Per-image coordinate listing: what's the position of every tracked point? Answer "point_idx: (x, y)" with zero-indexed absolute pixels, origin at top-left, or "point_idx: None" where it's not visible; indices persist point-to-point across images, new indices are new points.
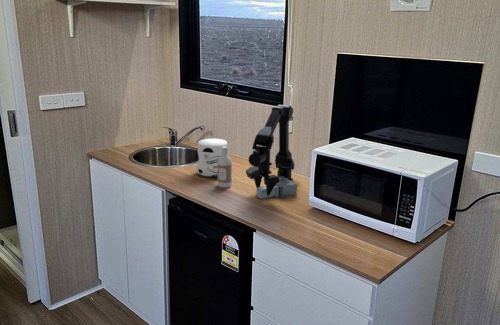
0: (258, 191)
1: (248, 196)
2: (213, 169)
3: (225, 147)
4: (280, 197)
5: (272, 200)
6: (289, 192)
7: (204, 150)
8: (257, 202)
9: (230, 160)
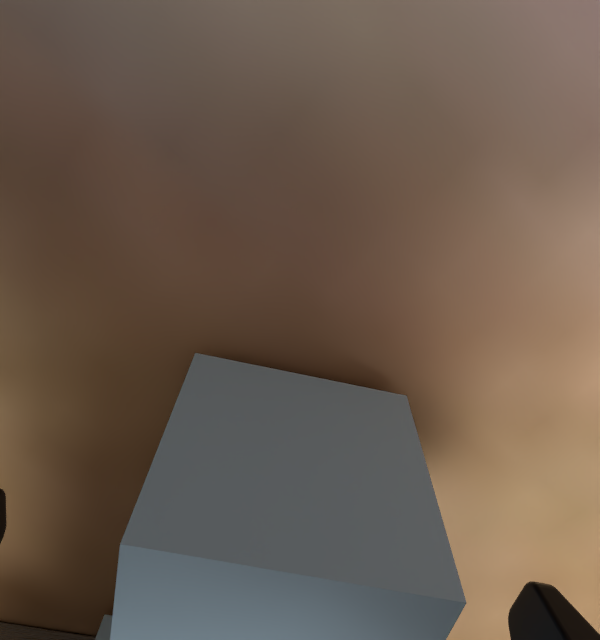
0: (312, 486)
1: (561, 247)
2: None
3: None
4: (58, 631)
5: (5, 471)
6: None
7: None
8: (69, 134)
9: None
